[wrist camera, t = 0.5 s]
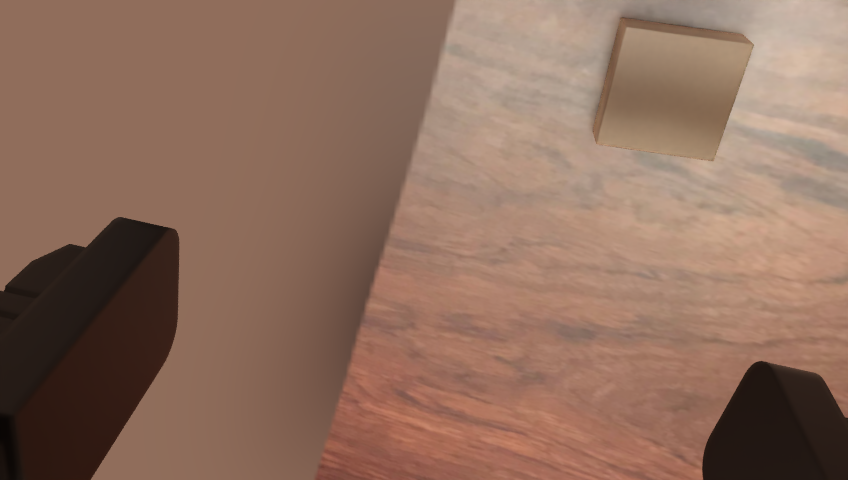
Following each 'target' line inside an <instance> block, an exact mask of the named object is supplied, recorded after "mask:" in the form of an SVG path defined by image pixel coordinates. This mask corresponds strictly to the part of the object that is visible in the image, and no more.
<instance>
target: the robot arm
mask: <svg viewBox="0 0 848 480" xmlns="http://www.w3.org/2000/svg"><path fill="white" fill-rule="evenodd" d="M178 280H179V237H178V233H177V231H176V230H175V229H172V228H168V227H163V226H159V225H154V224H150V223H145V222H141V221H136V220H131V219H127V218H123V217H118V218H116V219H114V220H113V221H112V222H111V223H110V224H109V225H108V226H107V227H106V228H105V229H104V230H103V231H102V232H101V233H100V234H99V235H98V236H97V237H96V238H95V239H94V240H93V241H92V242H91V243H90V244H89V245H88V246H87V247H86V248H85V247H81V246H77V245H72V244H69V245H66V246H64V247H62V248H60V249H58V250H55V251H53V252H51V253H49V254H47V255H45V256H43V257H40V258H38V259H36V260H34V261H32V262H31V263H30V264H29V265H27V266H26V267H25V268H24V269H23V270H22V271H21V272H20V273H19V274H18V275H17V276H16V277H14V278H13V279H12V280H11V281H10V282H9V283H8V284H7V285H6V286H5V290H4V292H3V291H0V480H91V478H92V477H93V475H94V473H95V472H96V470H97V469H98V467H99V465H100V464H101V462H102V460H103V459H104V458H105V456H106V454H107V453H108V451H109V450H110V448H111V446H112V445H113V443H114V442H115V440H116V439H117V437H118V435H119V434H120V432H121V431H122V429H123V428H124V426H125V424H126V423H127V421H128V420H129V418H130V416H131V415H132V413H133V412H134V410H135V409H136V407H137V405H138V404H139V402H140V401H141V399H142V398H143V396H144V394H145V393H146V391H147V390H148V388H149V386H150V385H151V383H152V382H153V380H154V379H155V377H156V375H157V374H158V372H159V371H160V369H161V367H162V366H163V364H164V362H165V361H166V358H167V357H168V354H169V352H170V349H171V346H172V344H173V340H174V337H175V333H176V327H177V319H178ZM702 471H703V480H848V418H845V417H844V415H843V413H842V412H841V410H840V408H839V406H838V404H837V403H836V401H835V399H834V397H833V395H832V394H831V392H830V390H829V388H828V386H827V385H826V383H825V381H824V380H823V378H822V377H821V376H820V375H818V374H816V373H813V372H808V371H804V370H799V369H795V368H790V367H786V366H781V365H777V364H772V363H768V362H763V361H759V362H756V363H754V364H753V365H752V366H751V367H750V368H749V369H748V370H747V372H746V373H745V375H744V377H743V378H742V380H741V382H740V384H739V386H738V387H737V389H736V391H735V393H734V394H733V396H732V398H731V400H730V401H729V403H728V405H727V407H726V408H725V410H724V412H723V414H722V416H721V417H720V419H719V421H718V423H717V424H716V426H715V428H714V430H713V431H712V433H711V435H710V437H709V439H708V441H707V444H706V447H705V451H704V456H703V467H702Z"/></svg>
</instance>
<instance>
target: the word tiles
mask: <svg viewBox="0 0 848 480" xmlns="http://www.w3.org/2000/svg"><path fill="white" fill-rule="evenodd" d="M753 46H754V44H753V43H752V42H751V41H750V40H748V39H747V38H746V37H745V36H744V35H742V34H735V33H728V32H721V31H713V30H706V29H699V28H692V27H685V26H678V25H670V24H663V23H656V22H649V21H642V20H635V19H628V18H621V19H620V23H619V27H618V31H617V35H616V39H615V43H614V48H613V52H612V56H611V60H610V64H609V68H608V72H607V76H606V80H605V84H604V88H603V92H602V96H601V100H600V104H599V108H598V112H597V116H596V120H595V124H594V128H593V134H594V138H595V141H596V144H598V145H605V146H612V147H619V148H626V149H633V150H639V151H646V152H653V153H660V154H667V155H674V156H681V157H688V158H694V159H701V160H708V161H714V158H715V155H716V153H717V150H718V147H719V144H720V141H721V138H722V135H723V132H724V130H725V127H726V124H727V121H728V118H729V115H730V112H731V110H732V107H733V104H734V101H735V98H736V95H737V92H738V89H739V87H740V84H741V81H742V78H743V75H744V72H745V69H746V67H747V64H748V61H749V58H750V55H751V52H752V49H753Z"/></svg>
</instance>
